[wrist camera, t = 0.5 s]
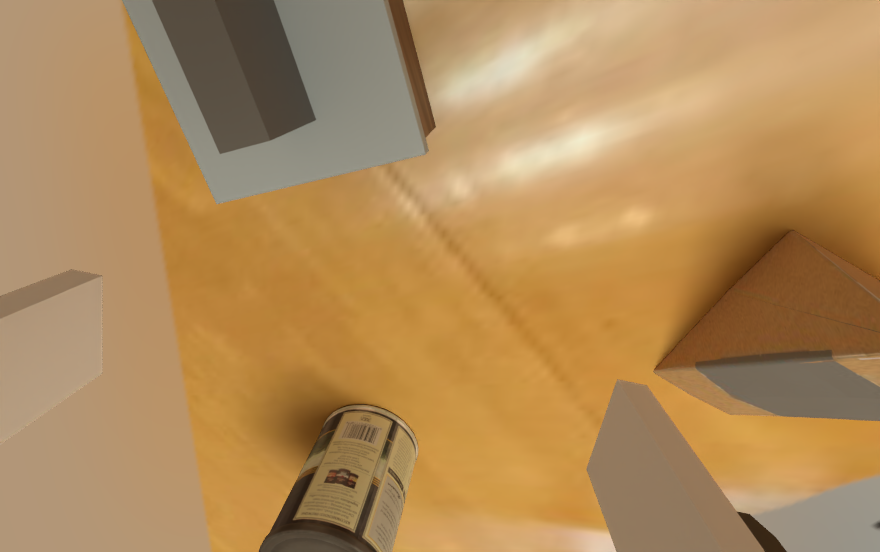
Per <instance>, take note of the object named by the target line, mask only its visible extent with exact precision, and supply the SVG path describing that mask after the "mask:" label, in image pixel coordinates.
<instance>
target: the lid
mask: <svg viewBox="0 0 880 552" xmlns="http://www.w3.org/2000/svg"><path fill="white" fill-rule="evenodd" d="M122 1H123V3H124V5H125V7H126V10H127V12H128V14H129V16H130V18H131V20H132V23H133V25H134V27H135V29H136V31H137V33H138V36H139V38H140V40H141V42H142V44H143V46H144V48H145V51H146V53H147V55H148V57H149V59H150V61H151V64H152V66H153V68H154V70H155V72H156V74H157V77H158V79H159V81H160V83H161V85H162V87H163V89H164V92H165V94H166V96H167V98H168V100H169V102H170V105H171V107H172V109H173V111H174V113H175V115H176V117H177V120H178V122H179V124H180V126H181V128H182V130H183V133H184V135H185V137H186V139H187V141H188V143H189V146H190V148H191V150H192V152H193V154H194V156H195V158H196V161H197V163H198V165H199V167H200V169H201V171H202V174H203V176H204V178H205V180H206V182H207V184H208V187H209V189H210V191H211V193H212V195H213V197H214V199H215V202H216V204H219V203H224V202H228V201H232V200H236V199H240V198H245V197H249V196H253V195H257V194H261V193H266V192H270V191H274V190H278V189H282V188H287V187H291V186H295V185H299V184H303V183H308V182H312V181H316V180H320V179H325V178H329V177H333V176H337V175H341V174H346V173H350V172H354V171H358V170H362V169H367V168H371V167H375V166H379V165H383V164H388V163H392V162H396V161H400V160H404V159H409V158H413V157H417V156H421V155H426V154H427V152H428V151H429V149H428V146H427V142H426V138H425V135H424V131H423V127H422V124H421V120H420V116H419V112H418V109H417V105H416V101H415V98H414V94H413V90H412V87H411V83H410V79H409V76H408V72H407V68H406V65H405V61H404V57H403V54H402V50H401V46H400V43H399V39H398V35H397V32H396V28H395V24H394V21H393V17H392V13H391V9H390V6H389V2H388V0H122Z"/></svg>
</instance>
